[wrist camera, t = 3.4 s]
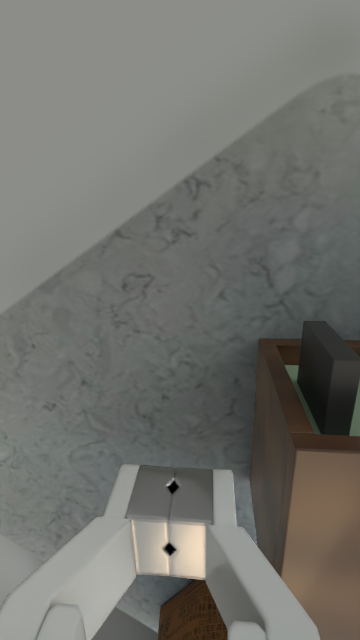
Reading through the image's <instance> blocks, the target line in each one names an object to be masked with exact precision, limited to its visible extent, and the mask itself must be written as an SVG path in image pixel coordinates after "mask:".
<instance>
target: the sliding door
mask: <svg viewBox="0 0 360 640" xmlns="http://www.w3.org/2000/svg"><path fill="white" fill-rule="evenodd" d="M285 367H286V369H287V372H288V374H289V376H290V379H291V381H292V383H293V385H294V388H295V390H296V392H297V394H298V397H299V399H300V401H301V404H302V406H303V408H304V410H305V413H306V415H307V417H308V420H309V422H310V424H311V426H312V429H313V431H314V434H324V435H345V436H360V357H359V356H358V355H357V354H356V353H355V352H354V351H353V350H352V349H351V348H350V347H349V346H348V345H347V344H346V343H345V342H344V341H343V340H342V339H341V337H340V336H339V335H338V334H337V333H336V332H335V331H334V330H333V329H332V328H331V327H330V326H329V325H328V324H327V323H326V322H325V321H304V323H303V332H302V340H301V349H300V358H299V365H285Z"/></svg>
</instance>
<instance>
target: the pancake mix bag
mask: <svg viewBox="0 0 360 640" xmlns="http://www.w3.org/2000/svg"><path fill="white" fill-rule="evenodd" d="M227 634H228V629H227V627H226V625H225V623H224V621H223V619H222V616H221V614H220V612H219V610H218V608H217V606H216V603H215V601H214V599H213V597H212V595H211V592H210V590H209V588H208V586H207V584H206V580H198V579H194V580H193V581H192V582H191V583H190V584H189V585H188V586H186V587H185V588H184V589H183V590H182V591H181V592H179V593H178V594H177V595H176V596H175V597H173V598H172V599H170V600H169V601H168V602H166V603H165V604H164V605H163V606H161V610H160V620H159V630H158V640H227Z"/></svg>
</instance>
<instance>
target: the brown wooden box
mask: <svg viewBox="0 0 360 640" xmlns="http://www.w3.org/2000/svg"><path fill="white" fill-rule="evenodd" d="M343 341H344V342H345V343H346V344H347V345H348V346H349V347H350V348H351V349H352V350H353V351H354V352H355V353H356V354H357V355H358V356H359V357H360V341H353V340H343ZM300 349H301V340H300V339H259V346H258V362H257V377H256V392H255V408H254V423H253V438H252V454H251V469H250V487H251V495H252V503H253V511H254V519H255V527H256V534H257V542H258V548H259V549H260V550H261V552H262V553H263V554H264V556H265V557H266V559H267V560H268V561H269V563H270V564H271V565H272V567H273V568H274V569H275V571H276V572H277V573H278V575H279V576H280V578H281V579H282V580H283V582H284V583H285V584H286V586H287V587H288V588H289V590H290V591H291V592H292V594H293V595H294V596H295V598H296V599H297V601H298V602H299V603H300V605H301V606H302V607H303V609H304V610H305V611H306V613H307V614H308V615H309V617H310V618H311V619H312V621H313V622H314V624H315V625H316V626H317V628H318V632H319V636H320V640H360V436H345V435H324V434H314V431H313V429H312V426H311V424H310V422H309V420H308V417H307V415H306V413H305V410H304V408H303V406H302V404H301V401H300V399H299V397H298V394H297V392H296V390H295V388H294V385H293V383H292V381H291V379H290V376H289V374H288V372H287V369H286V367H285V365H299V358H300Z"/></svg>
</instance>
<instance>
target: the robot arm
mask: <svg viewBox="0 0 360 640" xmlns="http://www.w3.org/2000/svg"><path fill="white" fill-rule="evenodd" d="M136 574H138V575H157V576H173V577H181V578H189V579H198V580H206V584H207V586H208V588H209V590H210V592H211V595H212V597H213V599H214V601H215V603H216V606H217V608H218V610H219V612H220V614H221V616H222V619H223V621H224V623H225V625H226V627H227V629H228V634H227V640H320V636H319V632H318V628H317V626H316V625H315V624H314V622H313V621H312V619H311V618H310V617H309V615H308V614H307V613H306V611H305V610H304V609H303V607H302V606H301V605H300V603H299V602H298V601H297V599H296V598H295V596H294V595H293V594H292V592H291V591H290V590H289V588H288V587H287V586H286V584H285V583H284V582H283V580H282V579H281V578H280V576H279V575H278V573H277V572H276V571H275V569H274V568H273V567H272V565H271V564H270V563H269V561H268V560H267V559H266V557H265V556H264V554H263V553H262V552H261V550H260V549H259V548H258V546H257V545H256V544H255V542H254V541H253V540H252V538H251V537H250V536H249V534H248V533H247V531H246V530H245V529H244V527H238V526H237V519H236V506H235V494H234V481H233V472H232V470H225V469H213V470H212V469H199V468H173V467H161V466H149V465H131V464H123V465H122V466H121V467H120V469H119V472H118V474H117V477H116V480H115V483H114V486H113V488H112V491H111V494H110V497H109V500H108V502H107V505H106V508H105V511H104V514H103V516H102V517H96V518H94V519H93V520H92V521H91V522H90V523H89V524H88V525H87V526H85V527H84V528H83V529H82V530H81V531H80V532H79V533H77V534H76V535H75V536H74V537H73V538H72V539H71V540H70V541H68V542H67V543H66V544H65V545H64V546H63V547H62V548H60V549H59V550H58V551H57V552H56V553H55V554H54V555H53V556H51V557H50V558H49V559H48V560H47V561H46V562H45V563H43V564H42V565H41V566H40V567H39V568H38V569H37V570H35V571H34V572H33V573H32V574H31V575H30V576H29V577H28V578H26V579H25V580H24V581H23V582H22V583H21V584H20V585H18V586H17V587H16V588H15V589H14V590H13V591H12V592H11V593H9V594H8V595H7V597H6V599H5V600H4V602H3V604H2V606H1V608H0V640H91V639H92V638H93V636H94V635H95V634H96V632H97V631H98V630H99V628H100V627H101V625H102V624H103V623H104V621H105V620H106V619H107V617H108V616H109V614H110V613H111V612H112V610H113V609H114V607H115V606H116V605H117V603H118V602H119V601H120V599H121V598H122V596H123V595H124V594H125V592H126V591H127V589H128V588H129V587H130V585H131V584H132V582H133V581H134V580H135V578H136Z"/></svg>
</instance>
